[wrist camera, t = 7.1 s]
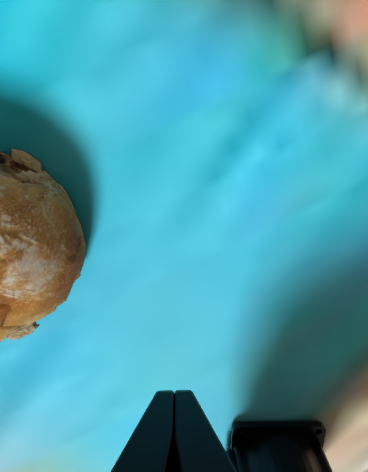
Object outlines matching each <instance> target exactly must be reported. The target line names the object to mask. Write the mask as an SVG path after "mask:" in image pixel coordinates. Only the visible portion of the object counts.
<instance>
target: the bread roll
mask: <svg viewBox="0 0 368 472" xmlns="http://www.w3.org/2000/svg"><path fill="white" fill-rule="evenodd" d="M85 251H86V243H85V241H84V235H83V231H82V229H81V223H80V222H79V220H78V218H77V215H76V213H75V210H74V207H73V204H72V202H71V199H70V198H69V196H68V194H67V192H66V191H65V189H64V188H63V187H62V186H61V185H60V184H59V183H58V182H56V181H55V180H54V179H53V178H52V177H51V176H50V175H49V174H48V173H47V172H46V171H42V164H41V162H40V161H39V160H37V159H36V158H34V157H33V156H31V155H30V154H28V153H27V152H25V151H22V150H17V149H12V148H11V154H10V155H7V154H5V153H2V152H0V341H2V340H4V339H5V338H6V337H7V338H9V339H10V340H12V339H20V338H22V337H23V336H26V335H29V334H31V333H33V331H34V330H35V329H36V328H37V327H38V326H39V325H40V324H38V325H37V324H36V322H35V321H38V320H40V319H42V318H43V317H45V316H47V315H48V314H50V313H52V312H53V311H55V309H56V307H57V306H58V305H60V304H62V303H63V302H65V301H66V300H67V297H68V295H69V293H70V291H71V288H72V286H73V283H74V281H75V280H77V279H78V278H79V277H80V272H81V269H82V267H83V263H84V258H85Z"/></svg>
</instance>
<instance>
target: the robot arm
mask: <svg viewBox="0 0 368 472" xmlns="http://www.w3.org/2000/svg"><path fill="white" fill-rule="evenodd" d="M325 432H326V430H325V428H324V425H323V424H322V423H321V422H317V421H316V422H237V423H235V424H233V425H232V430H231V444H230V449H227V450H226V451H225V449H224V448H223V446H222V444H221V442H220V440H219V439H218V437H217V435H216V433H215V431H214V430H213V428H212V426H211V424H210V422H209V421H208V419H207V417H206V415H205V413H204V412H203V410H202V408H201V406H200V404H199V402H198V401H197V399H196V397H195V395H194V393H193V392H192V391H191V390H176V391H175V394H174V392H173V391H172V390H165V391H157V392H156V394H155V395H154V397H153V399H152V401H151V402H150V404H149V406H148V408H147V409H146V411H145V413H144V415H143V416H142V418H141V420H140V421H139V423H138V425H137V427H136V428H135V430H134V432H133V434H132V435H131V437H130V439H129V441H128V442H127V444H126V446H125V448H124V449H123V451H122V453H121V455H120V456H119V458H118V460H117V461H116V463H115V465H114V467H113V468H112V470H111V472H332V469H331V467H330V465H329V462H328V460H327V458H326V455H325V453H324V451H323V449H322V448H323V442H324V437H325Z"/></svg>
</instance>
